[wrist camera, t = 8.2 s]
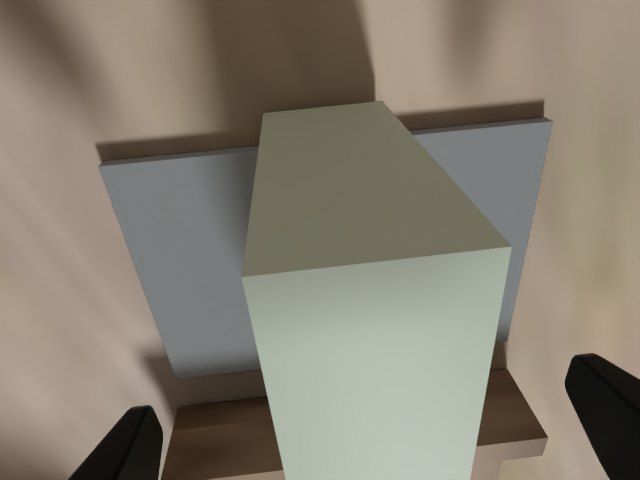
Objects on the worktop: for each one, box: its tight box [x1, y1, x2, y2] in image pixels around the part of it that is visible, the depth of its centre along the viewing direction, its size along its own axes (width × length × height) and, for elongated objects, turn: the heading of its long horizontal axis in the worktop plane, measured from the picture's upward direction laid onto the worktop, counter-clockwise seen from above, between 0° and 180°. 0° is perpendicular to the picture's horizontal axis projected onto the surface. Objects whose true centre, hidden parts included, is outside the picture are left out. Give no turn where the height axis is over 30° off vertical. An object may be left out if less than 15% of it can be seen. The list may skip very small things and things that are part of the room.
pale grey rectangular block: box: [241, 101, 512, 480], centre depth 10 cm, size 3×10×7 cm, turn 5°
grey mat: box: [99, 117, 553, 379], centre depth 13 cm, size 12×8×1 cm, turn 94°
